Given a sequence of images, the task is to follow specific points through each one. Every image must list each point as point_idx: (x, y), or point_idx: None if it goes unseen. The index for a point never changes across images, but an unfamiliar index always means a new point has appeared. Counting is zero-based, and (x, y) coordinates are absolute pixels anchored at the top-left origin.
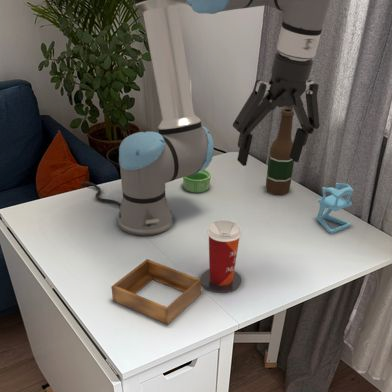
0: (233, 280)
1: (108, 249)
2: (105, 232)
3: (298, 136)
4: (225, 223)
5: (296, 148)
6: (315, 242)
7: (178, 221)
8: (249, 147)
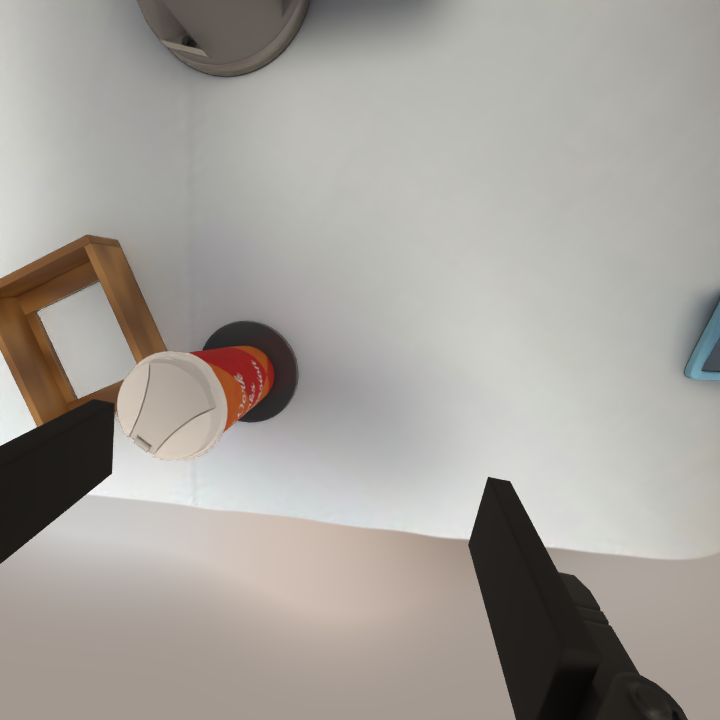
0: (268, 395)
1: (76, 78)
2: None
3: (524, 636)
4: (180, 391)
5: (495, 573)
6: (598, 382)
7: (321, 32)
8: (14, 547)
